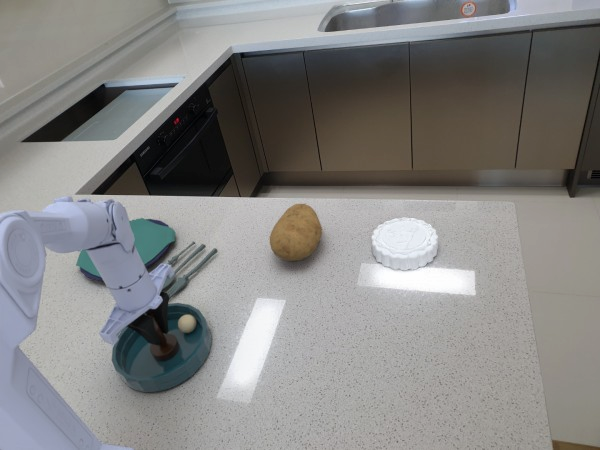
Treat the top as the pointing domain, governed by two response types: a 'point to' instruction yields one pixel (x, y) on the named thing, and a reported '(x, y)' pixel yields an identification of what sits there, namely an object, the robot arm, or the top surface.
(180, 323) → the dough ball
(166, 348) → the wooden pestle
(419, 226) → the mooncake
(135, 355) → the bowl
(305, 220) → the potato
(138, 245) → the cutlery set
